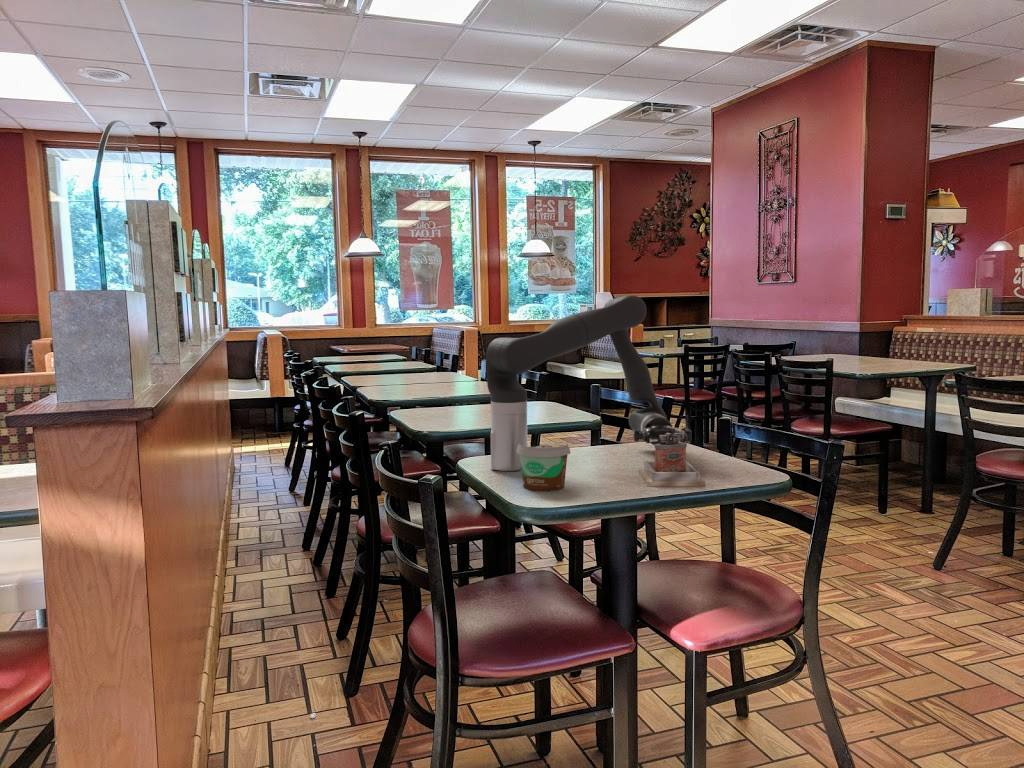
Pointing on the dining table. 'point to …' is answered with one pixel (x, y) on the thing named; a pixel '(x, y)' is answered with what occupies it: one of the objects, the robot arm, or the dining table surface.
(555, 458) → the food container
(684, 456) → the lighter
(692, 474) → the tray
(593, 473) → the dining table surface
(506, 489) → the dining table surface
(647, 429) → the robot arm
